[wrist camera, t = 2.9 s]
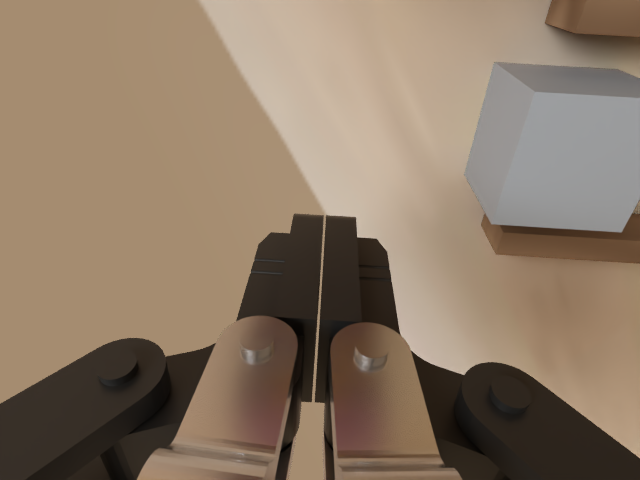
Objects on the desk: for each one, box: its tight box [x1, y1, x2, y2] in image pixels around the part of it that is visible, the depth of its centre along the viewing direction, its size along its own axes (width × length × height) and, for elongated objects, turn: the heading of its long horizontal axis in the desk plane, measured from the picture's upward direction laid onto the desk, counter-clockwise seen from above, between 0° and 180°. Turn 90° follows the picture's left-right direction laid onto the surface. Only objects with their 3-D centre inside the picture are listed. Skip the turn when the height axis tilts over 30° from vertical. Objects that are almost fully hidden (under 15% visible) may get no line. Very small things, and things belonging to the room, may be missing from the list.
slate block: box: [464, 62, 640, 232], centre depth 16 cm, size 5×5×4 cm
